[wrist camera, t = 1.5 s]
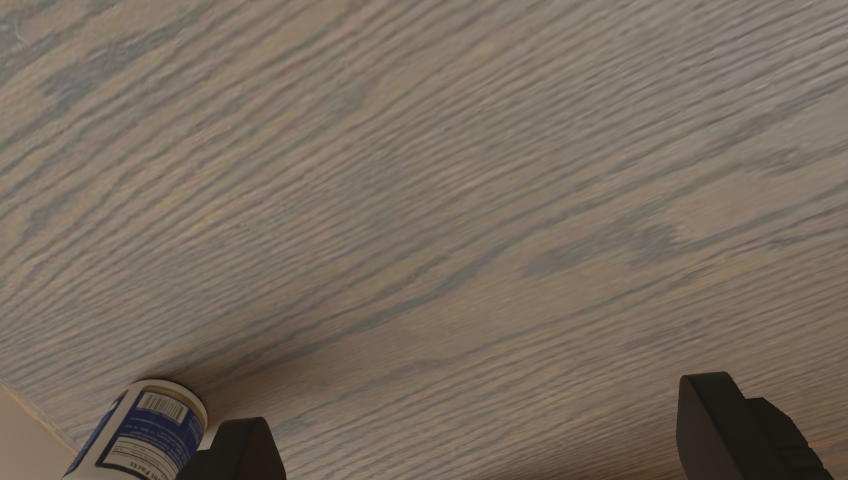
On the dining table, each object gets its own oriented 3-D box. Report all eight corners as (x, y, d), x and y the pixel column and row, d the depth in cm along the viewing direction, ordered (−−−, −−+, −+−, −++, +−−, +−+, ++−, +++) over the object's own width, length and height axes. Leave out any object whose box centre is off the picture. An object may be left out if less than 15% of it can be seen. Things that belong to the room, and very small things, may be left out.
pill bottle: (148, 450, 37) (59, 611, 28) (100, 387, 34) (-13, 542, 26) (226, 432, 36) (158, 594, 27) (183, 366, 33) (94, 520, 25)
